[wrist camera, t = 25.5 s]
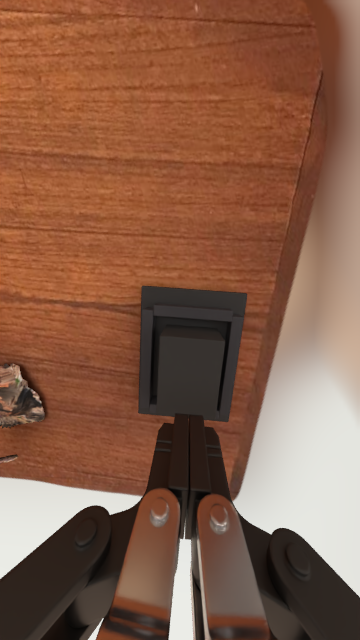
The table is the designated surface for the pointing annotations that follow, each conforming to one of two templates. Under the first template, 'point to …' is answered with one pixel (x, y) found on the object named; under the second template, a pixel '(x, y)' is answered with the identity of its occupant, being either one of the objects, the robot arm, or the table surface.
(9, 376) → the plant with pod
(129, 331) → the table surface
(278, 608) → the robot arm
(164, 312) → the base pad
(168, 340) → the small black block
